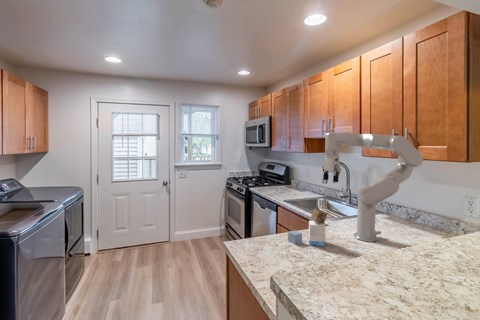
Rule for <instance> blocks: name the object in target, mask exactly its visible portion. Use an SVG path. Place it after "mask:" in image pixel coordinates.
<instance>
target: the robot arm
mask: <svg viewBox="0 0 480 320" xmlns="http://www.w3.org/2000/svg"><path fill="white" fill-rule="evenodd" d="M324 138H325V141H324V142H325V143H324V157H323V158H324V160H323V165H322V166H321V168H322V174H323V181H328V180H329V177H330V176H329V172H330V173H332V174H333V177H332V183H338V182H339V178H340V177H339V176H340V174H341V171H342V168H341V167H340V166H341V165H340V164H341V163H340V156H339V145H343V146H350V147H351V146H353V147H360V148H365V149H372V150H373V149H375V150H382V151H391V152H392V151H393V152H395V153H396V154H397V155H398V159H397V165H396V166H395V167H394V168H393V169H392V170H390V171H388V172H385V173H384V174H382V175H381V176H379V177H377V178H376V180H375V182H374V184H373V185H369V184H364V185H361V186H360V187H358V189H357V194H356V195H357V196H356V197H357V219H356V232H355V233H354V234H353V237H354V238H355V239H357V240H360V241H363V242H373V243H374V242H377V241H378V239H379V238H378V236H377V235H382V231H381V230H376V214H377V204H379V203H381V202H383V201H384V200H386V199H388V198H391V197H393V195H395V194H397V192H398V191H399V190H400V184H402V183H403V182H405V181H406V180H408V179H409V178H410V177H411V176H412V175H413V171H414V168H418V167H419V166H421V165H422V164H423V162H424V158H423V155H422V154H421V152H420V151H419V150H418V149H417V148H416V147H415V146H414V144H412V143H411V142H410V141H409V140H408V139H407V138H406V137H405V136H403V135H389V134H388V135H387V134H377V133H351V132H350V131H343V132H342V131H341V132H335V131H334V132H330V131H329V132H326V133H325V137H324Z"/></svg>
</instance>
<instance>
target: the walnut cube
mask: <svg viewBox="0 0 480 320" xmlns="http://www.w3.org/2000/svg"><path fill="white" fill-rule="evenodd" d="M327 217H328V213H326V212H325V211H324V210H321V209H317V208H313V210H312V213H311V216H310V218H311V219H312V221H314V220H315V221H316V222H320V223H325V221H326V219H327Z"/></svg>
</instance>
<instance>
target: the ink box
mask: <svg viewBox="0 0 480 320" xmlns="http://www.w3.org/2000/svg"><path fill="white" fill-rule="evenodd" d="M308 244H309V246H311V245H316V246H317V247H326V224H325V222H324V223H320V222H316V221H315V220H308ZM316 246H315V247H316Z"/></svg>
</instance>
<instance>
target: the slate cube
mask: <svg viewBox="0 0 480 320" xmlns="http://www.w3.org/2000/svg"><path fill="white" fill-rule="evenodd" d="M287 242H289V243H291V244H292V243H293V244H292V245H294V244H295V245H298V244H297V243H299V244H301V242H302V243H303V233H302V232H300V231H297V230H295V229H294V230H291V231H288V232H287Z"/></svg>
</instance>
